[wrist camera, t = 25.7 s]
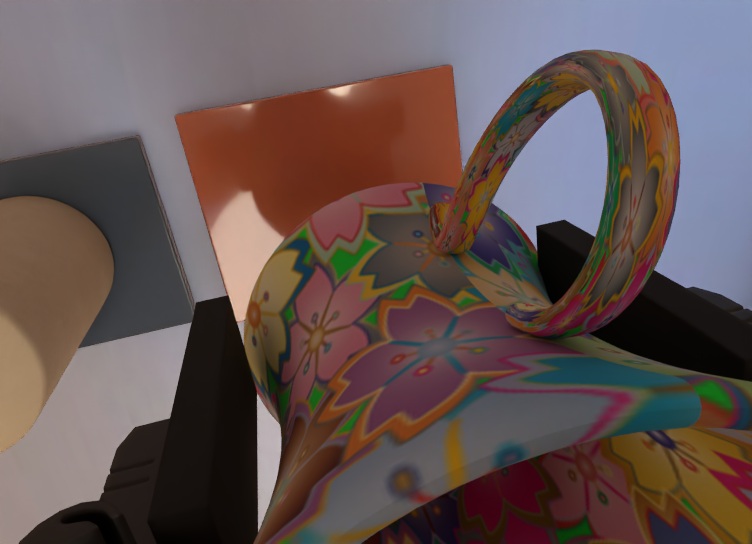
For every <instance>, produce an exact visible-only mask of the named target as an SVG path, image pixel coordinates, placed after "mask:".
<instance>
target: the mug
mask: <svg viewBox="0 0 752 544" xmlns="http://www.w3.org/2000/svg"><path fill="white" fill-rule="evenodd" d="M589 89H591V90H592V92H593V93H594V94H595V96H596V98H597V101H598V103H599V105H600V107H601V111H602V115H603V118H604V122H605V128H606V136H607V148H608V169H607V185H606V192H605V200H604V206H603V211H602V215H601V220H600V224H599V228H598V231H597V234H596V237H595V241H594V243H593V246H592V248H591V251H590V253H589V256H588V258H587V260H586V262H585V264H584V266H583V268H582V270H581V272H580V274H579V275H578V277H577V278H576V280H575V282H574V283H573V285H572V286H571V287H570V288H569V290H568V291H567V292H566V294H565V295H564V296H563V297H562V298H561V299H560V300H559V301H558V302H557V303H555V304H554V305H553V304H552V302H551V301H550V299H549V296H548V293H547V290H546V287H545V284H544V281H543V278H542V275H541V273H540V270H539V267H538V254H537V250H536V248H535V246H534V245H533V243H532V242H531V240H530V239H529V237H528V236H527V235H526V233H525V232H524V231H523V230H522V229H521V227H520V226H519V225H518V224H517V223H516V222H515V221H514V220H513V219H512V218H511V217H509V216H508V215H507V214H506V213H505V212H503V211H502V210H501V209H499V208H498V207H496V206H495V205H493V204H492V203H491V202H492V200H493V198H494V196H495V194H496V192H497V190H498V188H499V186H500V184H501V182H502V180H503V179H504V177H505V175H506V173H507V171H508V170H509V168H510V167H511V165H512V164H513V162H514V160H515V159H516V157H517V156H518V155H519V153H520V152H521V150H522V149H523V148H524V146H525V145H526V144H527V142H528V141H529V140H530V139H531V138H532V136H533V135H534V134H535V133H536V132H537V130H538V129H539V128H540V127H541V126H542V125H543V124H544V123H545V122H546V121H547V120H548V119H549V118H550V117H551V116H552V115H553V114H554V113H555V112H556V111H557V110H559V109H560V108H561V107H562V106H564V105H565V104H566V103H567V102H568V101H570V100H571V99H573V98H574V97H576V96H577V95H579V94H581V93H583V92H585V91H587V90H589ZM679 174H680V144H679V133H678V127H677V121H676V115H675V112H674V108H673V105H672V102H671V99H670V96H669V94H668V92H667V90H666V89H665V87H664V85H663V83H662V81H661V80H660V78H659V77H658V76H657V75H656V74H655V73H654V72H653V71H652V70H651V69H650V67H649V66H648V65H647V64H645V63H643V62H641V61H639V60H637V59H635V58H633V57H631V56H629V55H626V54H622V53H616V52H610V51H603V50H583V51H577V52H572V53H568V54H565V55H563V56H560V57H558V58H555V59H553V60H552V61H550V62H549V63H547V64H546V65H544V66H542V67H541V68H539V69H538V70H537V71H535V72H534V73H533V74H532V75H531V76H529V77H528V78H527V79H526V80H525V81H524V82H523V83H522V84H521V85H520V86H519V87H518V88H517V89H516V90H515V91H514V92H513V93H512V95H511V96H510V97H509V98H508V99H507V100H506V102H505V103H504V104H503V106H502V107H501V108H500V110H499V111H498V112H497V114H496V115H495V116H494V118H493V119H492V121H491V122H490V124H489V125H488V127H487V128H486V130H485V132H484V133H483V135H482V137H481V138H480V140H479V142H478V143H477V145H476V147H475V149H474V151H473V153H472V155H471V156H470V158H469V160H468V162H467V165H466V167H465V169H464V171H463V173H462V175H461V178H460V180H459V183H458V185H457V187H456V188H454V187H449V186H444V185H439V184H430V183H396V184H387V185H382V186H377V187H372V188H368V189H365V190H361V191H358V192H355V193H352V194H350V195H347V196H345V197H343V198H340V199H338V200H336V201H334V202H332V203H330V204H329V205H327V206H325V207H323V208H322V209H320V210H319V211H317V212H315V213H314V214H312V215H311V216H310V217H308V218H307V219H306V220H305V221H303V222H302V223H301V224H300V225H298V226H297V227H296V228H295V229H294V230H293V231H292V232H291V233H290V234H289V235H288V236H287V237H286V238H285V239H284V240H283V241H282V243H281V244H280V245H279V246H278V247H277V248H276V250H275V251H274V252H273V254H272V255H271V257H270V258H269V259H268V261H267V262H266V264H265V265H264V267H263V269H262V271H261V273H260V275H259V277H258V278H257V281H256V283H255V286H254V288H253V290H252V293H251V296H250V300H249V303H248V307H247V311H246V317H245V324H244V348H245V352H246V355H247V359H248V362H249V365H250V369H251V372H252V376H253V379H254V383H255V386H256V389H257V393H258V395H259V397H260V399H261V400H262V402H263V404H264V405H265V407H266V408H267V409H268V411H269V412H270V414H271V415H272V416H273V417H274V418H275V419H276V421H277V422H278V423H279V424H280V427H281V437H282V444H281V458H280V464H279V471H278V476H277V480H276V484H275V488H274V491H273V494H272V497H271V501H270V504H269V507H268V509H267V512H266V515H265V517H264V520H263V522H262V525H261V528H260V530H259V532H258V534H257V537H256V539H255V541H254V543H253V544H752V382H749V381H743V380H738V379H732V378H726V377H721V376H715V375H709V374H704V373H700V372H695V371H691V370H686V369H682V368H678V367H674V366H670V365H666V364H663V363H660V362H656V361H653V360H650V359H647V358H644V357H641V356H637V355H635V354H632V353H629V352H627V351H624V350H622V349H619V348H617V347H615V346H613V345H611V344H609V343H607V342H604V341H602V340H600V339H598V338H596V337H595V336H593V335H591V334H589V333H590V332H593V331H596V330H598V329H599V328H601V327H603V326H605V325H607V324H608V323H609V322H611V321H612V320H613V319H614V318H616V317H617V316H618V315H619V314H621V313H622V312H623V311H624V310H625V309H626V308H627V307H628V306H629V305H630V304H631V303H632V301H633V300H634V299H635V297H636V296H637V295H638V294H639V292H640V291H641V290H642V288H643V287H644V285H645V283H646V282H647V280H648V279H649V277H650V275H651V274H652V272H653V270H654V268H655V266H656V264H657V262H658V260H659V258H660V256H661V253H662V251H663V248H664V245H665V242H666V240H667V237H668V234H669V231H670V227H671V223H672V219H673V216H674V212H675V206H676V200H677V194H678V188H679Z"/></svg>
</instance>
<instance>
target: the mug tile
mask: <svg viewBox="0 0 752 544" xmlns="http://www.w3.org/2000/svg"><path fill="white" fill-rule="evenodd" d="M175 121H176V124H177V128H178V131H179V134H180V138H181V141H182V145H183V148H184V151H185V155H186V158H187V161H188V165H189V168H190V172H191V175H192V178H193V182H194V185H195V188H196V192H197V195H198V199H199V202H200V205H201V209H202V212H203V216H204V219H205V222H206V226H207V229H208V232H209V236H210V239H211V243H212V246H213V249H214V253H215V256H216V260H217V263H218V266H219V270H220V273H221V276H222V280H223V283H224V287H225V290H226V293H227V295H229V297H230V301H231V304H232V308H233V311H234V314H235V318H236V321H237V322H241V321H245V317H246V311H247V307H248V303H249V300H250V296H251V293H252V290H253V288H254V286H255V283H256V281H257V278H258V277H259V275H260V273H261V271H262V269H263V267H264V265H265V264H266V262H267V261H268V259H269V258H270V257H271V255H272V254H273V252H274V251H275V250H276V248H277V247H278V246H279V245H280V244H281V243H282V241H283V240H284V239H285V238H286V237H287V236H288V235H289V234H290V233H291V232H292V231H293V230H294V229H295V228H296V227H297V226H298V225H300V224H301V223H302V222H303V221H305V220H306V219H307V218H308V217H310V216H311V215H312V214H314V213H315V212H317V211H319V210H320V209H322V208H323V207H325V206H327V205H329V204H330V203H332V202H334V201H336V200H338V199H340V198H343V197H345V196H347V195H350V194H352V193H355V192H358V191H361V190H365V189H368V188H372V187H377V186H382V185H387V184H396V183H430V184H439V185H444V186H449V187H454V188H456V187H457V185H458V183H459V180H460V178H461V175H462V162H461V151H460V141H459V130H458V120H457V109H456V98H455V88H454V77H453V66H452V65H442V66H436V67H431V68H426V69H420V70H415V71H409V72H404V73H398V74H393V75H387V76H382V77H376V78H371V79H366V80H360V81H355V82H349V83H344V84H338V85H333V86H327V87H322V88H316V89H311V90H305V91H300V92H295V93H289V94H284V95H278V96H273V97H267V98H262V99H256V100H251V101H245V102H240V103H235V104H229V105H224V106H218V107H213V108H207V109H202V110H196V111H191V112H185V113H180V114H177V115H175Z"/></svg>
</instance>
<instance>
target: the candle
mask: <svg viewBox="0 0 752 544" xmlns="http://www.w3.org/2000/svg"><path fill="white" fill-rule="evenodd" d="M113 275H114V261H113V256H112V252H111V249H110V246H109V244H108V242H107V240H106V238H105V237H104V235H103V234H102V232H101V231H100V230H99V228H98V227H97V226H96V225H95V224H94V223H93V222H92V221H91V220H90V219H89V218H88V217H86V216H85V215H84V214H82V213H81V212H79V211H78V210H76V209H74V208H73V207H71V206H69V205H67V204H64V203H62V202H59V201H56V200H53V199H49V198H44V197H38V196H18V197H12V198H6V199H2V200H0V453H1V452H3V451H5V450H6V449H8V448H10V447H11V446H13V445H14V444H15V443H16V442H18V441H19V440H20V439H21V438H22V437H23V436H24V435H25V434H26V433H27V432H28V431H29V430H30V428H31V427H32V425H33V424H34V422H35V421H36V419H37V418H38V416H39V414H40V413H41V411H42V409H43V407H44V406H45V404H46V402H47V400H48V399H49V397H50V395H51V394H52V392H53V390H54V388H55V387H56V385H57V383H58V382H59V380H60V378H61V376H62V375H63V373H64V371H65V369H66V368H67V366H68V364H69V363H70V361H71V359H72V357H73V356H74V354H75V352H76V351H77V349H78V347H79V345H80V344H81V342H82V340H83V338H84V337H85V335H86V333H87V332H88V330H89V328H90V326H91V325H92V323H93V321H94V320H95V318H96V316H97V314H98V313H99V311H100V309H101V307H102V306H103V304H104V302H105V300H106V298H107V296H108V294H109V292H110V289H111V286H112V282H113Z"/></svg>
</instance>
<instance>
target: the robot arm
mask: <svg viewBox="0 0 752 544" xmlns="http://www.w3.org/2000/svg"><path fill="white" fill-rule="evenodd" d="M536 230H537V254H538V267H539V270H540V273H541V275H542V278H543V281H544V284H545V287H546V290H547V293H548V296H549V299H550V301H551V302H552V304H553V305H554V304H555V303H557V302H558V301H559V300H560V299H561V298H562V297H563V296H564V295H565V294H566V292H567V291H568V290H569V288H570V287H571V286H572V285H573V283H574V282H575V280H576V278H577V277H578V275H579V274H580V272H581V270H582V268H583V266H584V264H585V262H586V260H587V258H588V256H589V253H590V251H591V248H592V246H593V243H594V241H595V237H594V236H592V235H590V234H589V233H587V232H585V231H583V230H582V229H580V228H578V227H576V226H574V225H573V224H571V223H569V222H567V221H566V220H561V221H557V222H552V223H548V224H543V225H539V226H536ZM589 334H591V335H593V336H595V337H596V338H598V339H600V340H602V341H604V342H607V343H609V344H611V345H613V346H615V347H617V348H619V349H622V350H624V351H627V352H629V353H632V354H635V355H637V356H641V357H644V358H647V359H650V360H653V361H656V362H660V363H663V364H666V365H670V366H674V367H678V368H682V369H686V370H691V371H695V372H700V373H704V374H709V375H715V376H721V377H726V378H732V379H738V380H743V381H749V382H752V311H751V310H749V309H743V306H741V305H739V304H737V303H736V302H734V301H732V300H730V299H728V298H726V297H724V296H722V295H720V294H717V293H713V292H710V291H706V290H703V289H699V288H696V287H690V288H684V287H683V286H681V285H679V284H677V283H676V282H674V281H672V280H670V279H668V278H667V277H665V276H663V275H661V274H660V273H658V272H656V271H654V270H653V272H652V274H651V275H650V277H649V279H648V280H647V282H646V283H645V285H644V287H643V288H642V290H641V291H640V292H639V294H638V295H637V296H636V297H635V299H634V300H633V301H632V303H631V304H630V305H629V306H628V307H627V308H626V309H625V310H624V311H623V312H622V313H621V314H619V315H618V316H617V317H616V318H614V319H613V320H612V321H611V322H609V323H608V324H607V325H605V326H603V327H601V328H599V329H598V330H596V331H593V332H590V333H589ZM257 534H258V478H257V389H256V386H255V383H254V379H253V376H252V372H251V369H250V365H249V362H248V359H247V355H246V352H245V348H244V345H243V342H242V338H241V335H240V331H239V328H238V325H237V321H236V318H235V314H234V311H233V308H232V304H231V301H230V297H229V295H227V296H223V297H219V298H214V299H210V300H205V301H201V302H196V306H195V310H194V315H193V319H192V324H191V328H190V332H189V337H188V341H187V346H186V350H185V355H184V359H183V364H182V368H181V372H180V377H179V381H178V386H177V390H176V395H175V399H174V404H173V408H172V412H171V417H170V419H166V420H162V421H158V422H154V423H150V424H146V425H142V426H138V427H135V428H134V429H133V430H132V431H131V433H130V434H129V435H128V436H127V437H126V439H125V440H124V441H123V442H122V443H121V445H120V446H119V447H118V448H117V450H116V453H115V456H114V459H113V462H112V465H111V468H110V474H109V475H108V477H107V480H106V483H105V486H104V493H102V495H101V498H100V500H99V501H91V502H83V503H79V504H77V505H74V506H72V507H69V508H67V509H64V510H61V511H59V512H58V513H56V514H54V515H53V516H51V517H50V518H48V519H46V520H45V521H43V522H42V523H40V524H38V525H37V526H36V527H35V528H34V529H33V530H32V531H31V532H30V533H29V534H28V535H27V536H25V537H24V538H23V539H22V540H21V541H20V542H19V544H253V543H254V541H255V539H256V537H257Z"/></svg>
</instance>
